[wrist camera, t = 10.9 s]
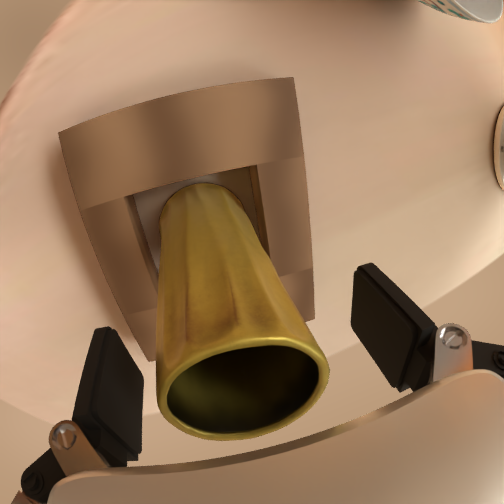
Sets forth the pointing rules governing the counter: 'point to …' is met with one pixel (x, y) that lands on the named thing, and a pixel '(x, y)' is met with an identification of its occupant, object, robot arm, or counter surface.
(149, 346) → the vase stand
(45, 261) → the counter surface
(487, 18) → the chinaware
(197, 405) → the vase
